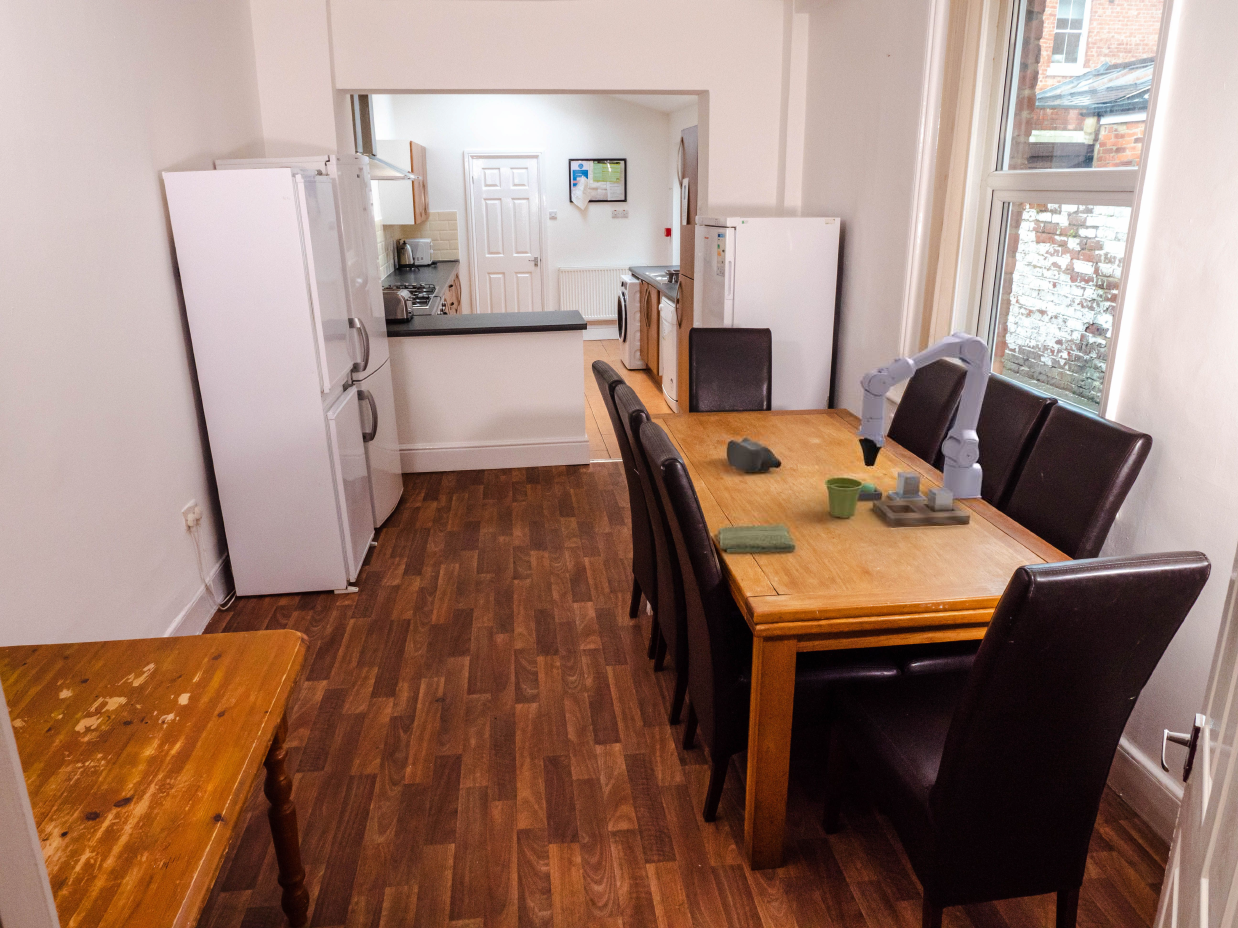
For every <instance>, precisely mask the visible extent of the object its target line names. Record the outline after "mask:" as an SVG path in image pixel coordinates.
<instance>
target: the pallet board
mask: <svg viewBox="0 0 1238 928" xmlns="http://www.w3.org/2000/svg"><path fill="white" fill-rule="evenodd" d="M927 504H928V498H927V499H923V500H896V501H894V500H872V507H871V508H872V510H873V512H875V513H876V514H877V515H878V516H879V517H881V518H882V519H883V520H884V521H885V522H886V523H887V524H888V525H890V526H889V527H890V528H892V529H894V528H897V527H905V528H916V527H917V528H918V527H919V528H920V527H922V526H930V527H939V526H940V527H943V526H946V525H955V526H965V525H966V524H970V520H971V515H970V514H969V513H967V512H966V511H965V510H963V509H962V508H961V507H959V506H958V505H956V504H955V503H954V502H952V511H945V512H932V511H931V510H930V509H929V508H927Z"/></svg>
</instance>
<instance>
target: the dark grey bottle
mask: <svg viewBox="0 0 1238 928" xmlns="http://www.w3.org/2000/svg"><path fill="white" fill-rule="evenodd" d="M726 458H727V459H726V460H727V461H728V464H729V466H730V467H732V466H733V467H732V468H734V467H735V468H734V469H736V470H739V471H742V472H744V473H748V472H762V471H764V472H763V473H769V471H770V469H780V467H781V466H782V461H781V460H780V459H779V458H777V456H775V454H774V453H773V451H772V450H771V449H770V448H768V447H767V446H765V445H763V444H762V443H760V442H758V441H753V440H752V439H750V438H748V437H744V438H742V440H741V441H739V440H735V439H731V440H729V441H728V443H727V447H726Z"/></svg>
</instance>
